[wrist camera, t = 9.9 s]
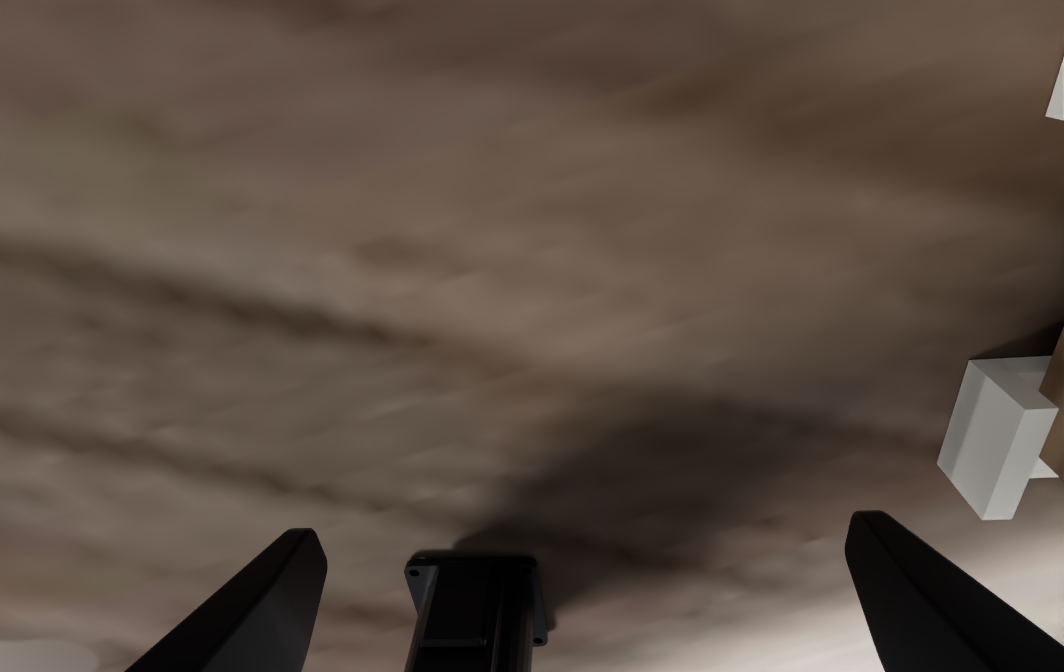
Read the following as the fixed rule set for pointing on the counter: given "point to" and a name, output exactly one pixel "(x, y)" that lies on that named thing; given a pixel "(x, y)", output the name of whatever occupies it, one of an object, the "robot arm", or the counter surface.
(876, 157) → the counter surface
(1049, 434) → the rail
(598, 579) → the counter surface
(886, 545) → the robot arm
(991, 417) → the rail brackets
